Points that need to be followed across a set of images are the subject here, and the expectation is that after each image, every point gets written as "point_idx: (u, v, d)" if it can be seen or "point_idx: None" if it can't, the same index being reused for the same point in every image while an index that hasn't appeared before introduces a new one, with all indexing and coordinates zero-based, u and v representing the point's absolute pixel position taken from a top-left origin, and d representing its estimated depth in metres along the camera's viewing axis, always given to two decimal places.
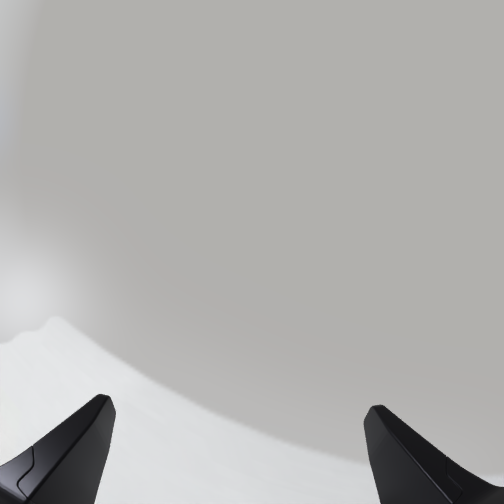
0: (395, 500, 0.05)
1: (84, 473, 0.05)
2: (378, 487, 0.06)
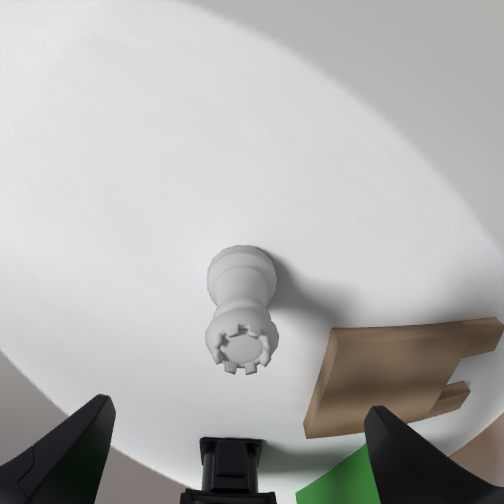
0: (395, 500, 0.05)
1: (84, 473, 0.05)
2: (378, 487, 0.06)
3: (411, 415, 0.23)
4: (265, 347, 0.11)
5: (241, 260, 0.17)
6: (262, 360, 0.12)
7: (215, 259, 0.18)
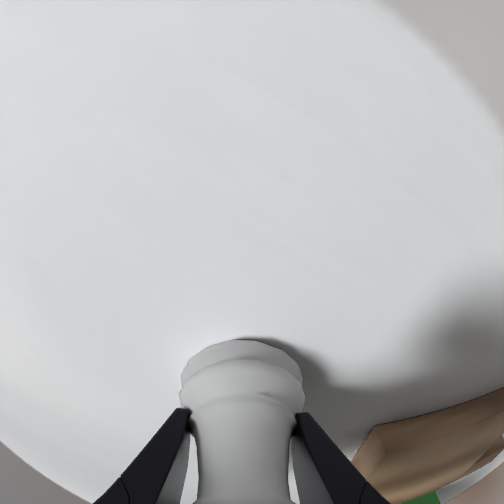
0: None
1: (173, 495, 0.05)
2: (300, 501, 0.06)
3: (444, 482, 0.14)
4: None
5: (241, 382, 0.08)
6: None
7: (193, 362, 0.09)
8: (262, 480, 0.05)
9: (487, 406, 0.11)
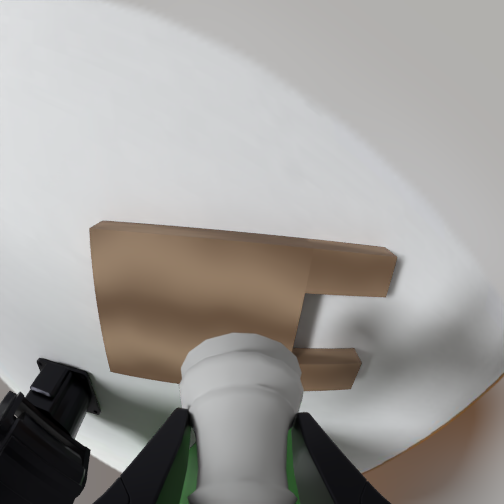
0: None
1: (173, 495, 0.05)
2: (300, 501, 0.06)
3: None
4: None
5: (240, 373, 0.08)
6: None
7: (193, 355, 0.09)
8: (260, 469, 0.05)
9: (224, 234, 0.18)
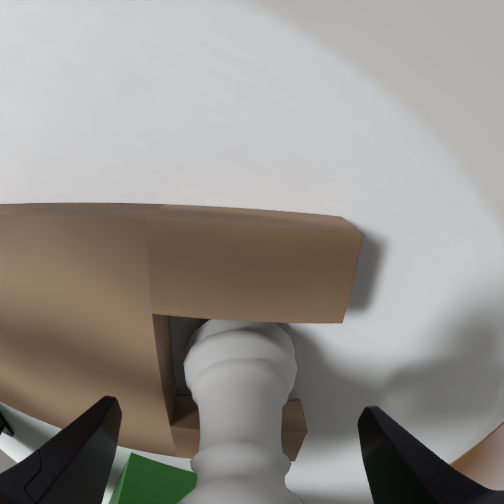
0: (388, 502, 0.05)
1: (91, 475, 0.05)
2: (372, 489, 0.06)
3: (121, 433, 0.11)
4: None
5: (239, 348, 0.09)
6: None
7: (196, 335, 0.10)
8: (256, 432, 0.07)
9: (27, 208, 0.08)
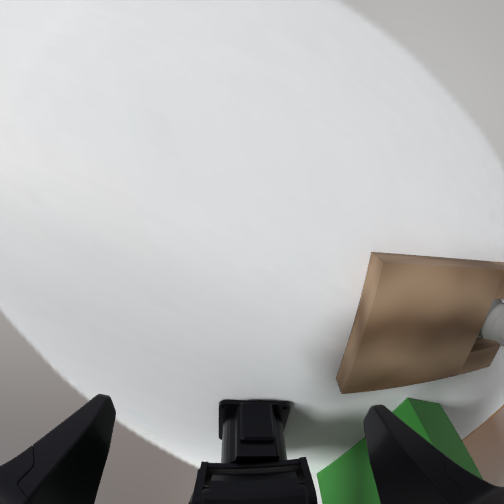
0: (395, 500, 0.05)
1: (84, 473, 0.05)
2: (378, 487, 0.06)
3: (447, 367, 0.22)
4: None
5: (503, 308, 0.20)
6: None
7: None
8: None
9: (462, 262, 0.19)
